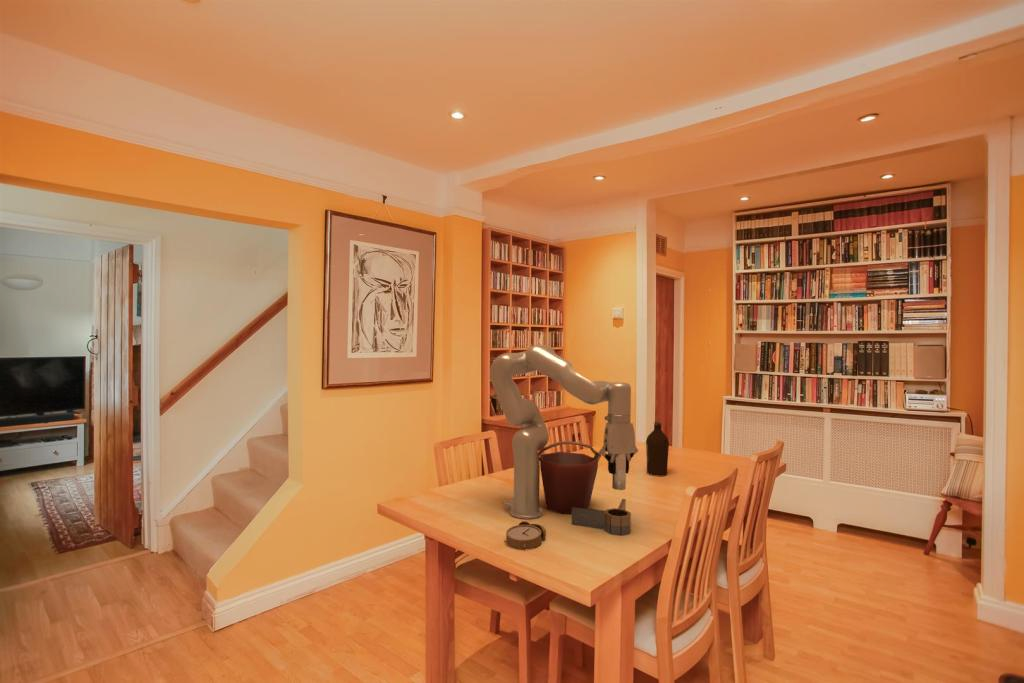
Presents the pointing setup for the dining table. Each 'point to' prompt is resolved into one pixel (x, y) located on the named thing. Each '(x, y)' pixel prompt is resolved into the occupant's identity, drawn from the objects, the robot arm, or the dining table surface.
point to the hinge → (604, 519)
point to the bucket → (568, 478)
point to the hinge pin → (619, 472)
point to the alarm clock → (525, 535)
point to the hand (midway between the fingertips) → (618, 472)
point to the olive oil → (657, 451)
